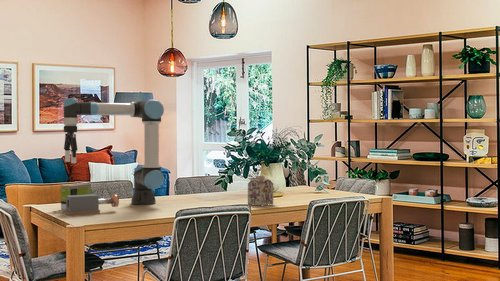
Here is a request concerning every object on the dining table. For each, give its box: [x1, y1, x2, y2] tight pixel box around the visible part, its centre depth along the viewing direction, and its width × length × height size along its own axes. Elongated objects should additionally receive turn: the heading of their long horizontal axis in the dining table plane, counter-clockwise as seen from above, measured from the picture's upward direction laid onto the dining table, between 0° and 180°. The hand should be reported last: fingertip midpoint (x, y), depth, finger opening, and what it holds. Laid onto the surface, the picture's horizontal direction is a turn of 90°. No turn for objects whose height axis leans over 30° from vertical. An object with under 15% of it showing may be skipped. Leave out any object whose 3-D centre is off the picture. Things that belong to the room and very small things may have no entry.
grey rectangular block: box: [99, 194, 120, 208], centre depth 382 cm, size 21×7×7 cm, turn 120°
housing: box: [63, 193, 101, 217], centre depth 377 cm, size 17×12×10 cm
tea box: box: [60, 182, 92, 211], centre depth 395 cm, size 15×10×15 cm, turn 141°
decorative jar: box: [247, 175, 274, 206], centre depth 417 cm, size 12×12×18 cm
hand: (70, 162), depth 386 cm, fingers open, 13 cm apart
